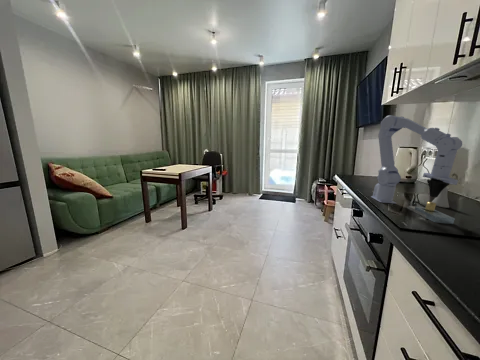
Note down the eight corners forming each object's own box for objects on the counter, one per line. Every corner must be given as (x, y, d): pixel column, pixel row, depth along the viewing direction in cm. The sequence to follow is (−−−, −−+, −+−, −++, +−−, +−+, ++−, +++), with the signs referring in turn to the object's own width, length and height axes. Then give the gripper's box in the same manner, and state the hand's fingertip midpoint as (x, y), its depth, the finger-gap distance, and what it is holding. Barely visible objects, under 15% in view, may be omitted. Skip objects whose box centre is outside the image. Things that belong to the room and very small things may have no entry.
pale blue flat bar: (407, 208, 98) (408, 203, 97) (422, 209, 97) (423, 204, 97) (434, 222, 82) (436, 216, 82) (453, 223, 82) (454, 218, 81)
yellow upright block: (421, 213, 91) (425, 201, 90) (428, 214, 91) (432, 201, 90) (427, 216, 88) (431, 203, 87) (434, 217, 88) (438, 204, 87)
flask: (433, 206, 103) (438, 187, 101) (428, 202, 110) (433, 184, 107) (452, 209, 100) (458, 190, 98) (445, 205, 107) (451, 187, 104)
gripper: (419, 162, 92) (411, 191, 95) (448, 168, 78) (438, 201, 81) (435, 164, 91) (427, 192, 94) (467, 169, 77) (456, 202, 80)
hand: (433, 196), depth 88 cm, fingers closed
